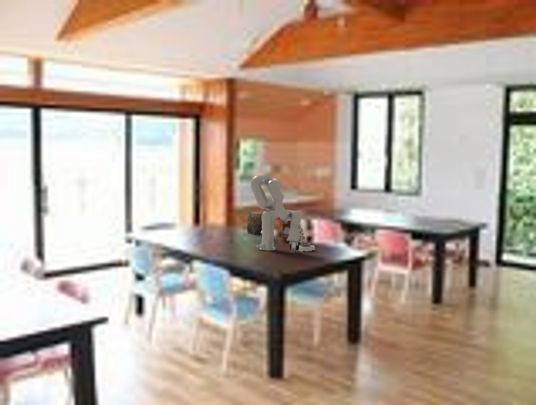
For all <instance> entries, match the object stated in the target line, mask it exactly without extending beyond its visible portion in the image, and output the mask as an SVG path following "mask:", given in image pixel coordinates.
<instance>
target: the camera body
mask: <svg viewBox="0 0 536 405" xmlns="http://www.w3.org/2000/svg"><path fill="white" fill-rule="evenodd" d="M315 248H316V246H315V245H311V243H310V242H304V241H303V242H302V243H301V244H300V245H299V250H298V252H303V251H305V252H313V251H312V250H315V251H316V249H315ZM303 253H304V252H303Z"/></svg>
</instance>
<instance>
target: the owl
mask: <svg viewBox="0 0 536 405" xmlns="http://www.w3.org/2000/svg"><path fill="white" fill-rule="evenodd" d="M248 213H249V214H248V216H247V225H246V231H247V234H249V235H254V236H256V235H262V213H263V212H260V211H249V212H248ZM255 234H256V235H255Z"/></svg>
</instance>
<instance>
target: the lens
mask: <svg viewBox="0 0 536 405" xmlns="http://www.w3.org/2000/svg"><path fill="white" fill-rule="evenodd" d="M296 245H297V243H296V241H292V243H291V249H290V250H291V251H290V253H291V254H298V253H299V251H298V250H296Z"/></svg>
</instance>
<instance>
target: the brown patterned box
mask: <svg viewBox="0 0 536 405" xmlns="http://www.w3.org/2000/svg"><path fill="white" fill-rule="evenodd" d="M281 223H282V224H281V225H282V226H281V227H282V228H281V242H282V243H286V242H288V241H287V238H288V236H289V230H290V227H291V219H287V220H282V222H281ZM300 223H302V222H301V219H300ZM300 229H301V231H302V240H303V241H305V238H306V237H305V234H304V233H303V231H304V228H302V227H301V228H300Z"/></svg>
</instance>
